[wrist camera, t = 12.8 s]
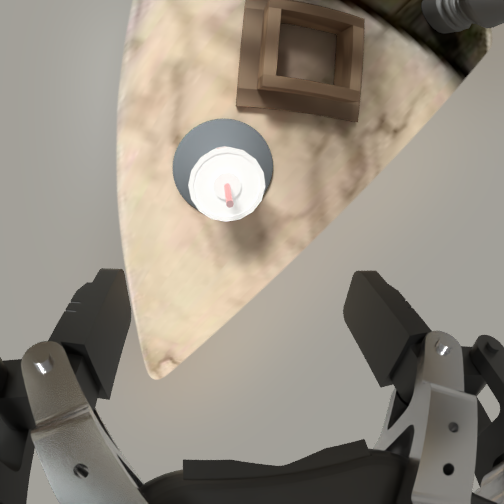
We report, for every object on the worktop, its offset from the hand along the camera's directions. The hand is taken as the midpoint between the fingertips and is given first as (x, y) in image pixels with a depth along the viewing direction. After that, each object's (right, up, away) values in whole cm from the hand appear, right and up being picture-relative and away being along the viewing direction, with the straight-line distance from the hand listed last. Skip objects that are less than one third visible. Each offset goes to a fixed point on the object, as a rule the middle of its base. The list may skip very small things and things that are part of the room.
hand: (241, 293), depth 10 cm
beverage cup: (-3, +11, +21) cm, 23 cm away
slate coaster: (-3, +11, +21) cm, 24 cm away
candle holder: (+27, +35, +13) cm, 46 cm away
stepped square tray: (+6, +23, +16) cm, 29 cm away
